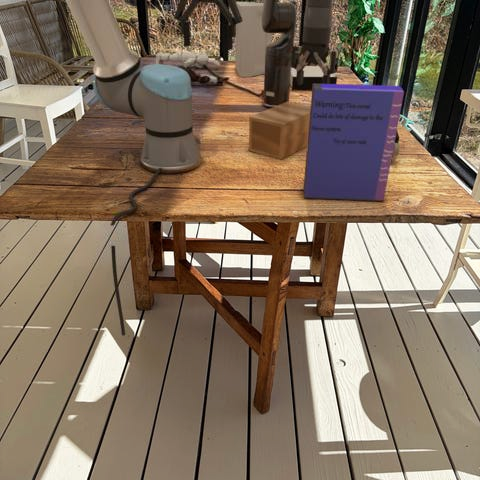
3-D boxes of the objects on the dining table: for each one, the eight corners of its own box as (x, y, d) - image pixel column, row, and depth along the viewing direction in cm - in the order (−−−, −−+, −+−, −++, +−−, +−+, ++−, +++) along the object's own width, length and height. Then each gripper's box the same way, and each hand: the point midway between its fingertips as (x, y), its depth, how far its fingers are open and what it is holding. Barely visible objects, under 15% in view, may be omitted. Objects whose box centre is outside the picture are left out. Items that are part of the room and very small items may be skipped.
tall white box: (273, 76, 210) (276, 6, 196) (239, 77, 209) (240, 6, 194) (266, 67, 226) (268, 2, 212) (235, 67, 225) (235, 1, 210)
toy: (175, 75, 210) (174, 58, 206) (151, 64, 228) (150, 49, 224) (222, 69, 222) (222, 53, 218) (195, 59, 239) (195, 45, 236)
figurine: (151, 84, 182) (229, 91, 185) (152, 62, 179) (231, 70, 183) (156, 81, 204) (226, 88, 208) (157, 62, 201) (227, 69, 205)
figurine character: (397, 170, 124) (390, 144, 136) (403, 143, 120) (396, 119, 131) (371, 168, 125) (366, 143, 137) (376, 142, 120) (371, 118, 132)
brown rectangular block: (285, 133, 145) (287, 101, 140) (316, 140, 140) (319, 108, 135) (248, 150, 131) (249, 116, 127) (281, 159, 126) (283, 124, 121)
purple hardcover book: (379, 191, 109) (398, 84, 97) (383, 201, 105) (404, 90, 93) (303, 188, 110) (312, 82, 98) (304, 197, 106) (314, 88, 94)
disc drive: (292, 89, 190) (292, 76, 188) (286, 77, 210) (286, 65, 207) (335, 90, 191) (337, 77, 188) (325, 77, 210) (327, 65, 208)
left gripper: (254, -35, 129) (252, 48, 140) (172, -37, 136) (175, 42, 147) (245, -35, 123) (243, 52, 134) (159, -37, 130) (164, 46, 141)
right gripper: (347, 25, 129) (340, 87, 137) (301, 21, 136) (297, 80, 144) (335, 28, 124) (328, 92, 132) (287, 23, 131) (284, 84, 139)
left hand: (208, 47), depth 141 cm, fingers open, 13 cm apart
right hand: (312, 86), depth 138 cm, fingers open, 7 cm apart
